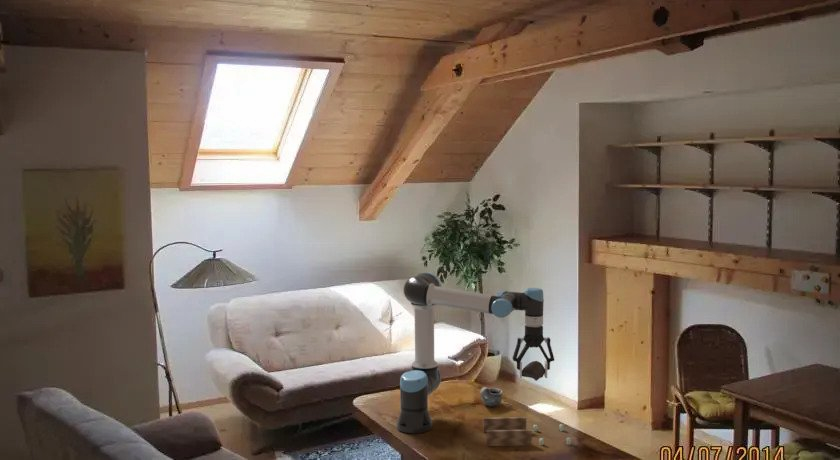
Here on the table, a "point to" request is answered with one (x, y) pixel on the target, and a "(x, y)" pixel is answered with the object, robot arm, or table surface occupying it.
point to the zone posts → (541, 440)
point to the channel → (507, 431)
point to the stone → (533, 370)
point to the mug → (491, 396)
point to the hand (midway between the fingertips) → (533, 377)
